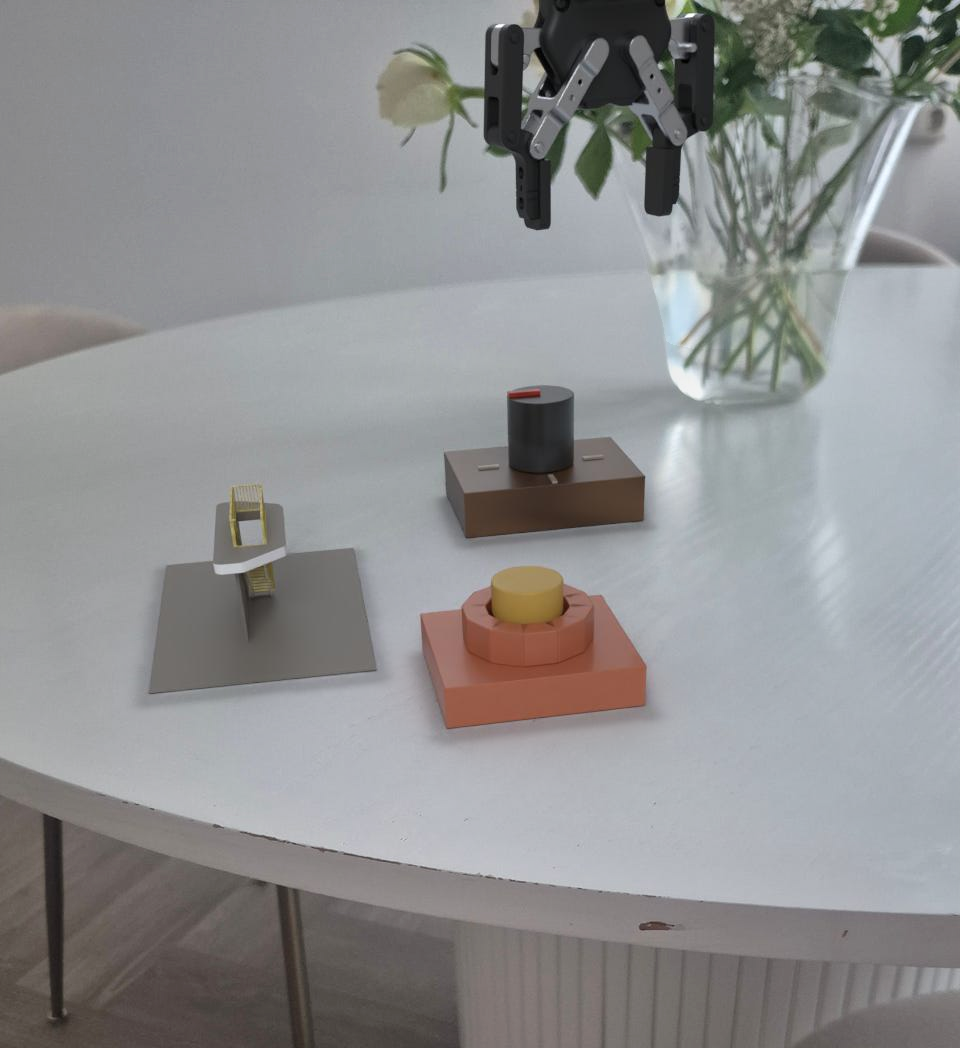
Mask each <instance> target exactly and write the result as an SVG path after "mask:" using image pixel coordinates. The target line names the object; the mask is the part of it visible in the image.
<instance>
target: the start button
mask: <svg viewBox="0 0 960 1048" xmlns="http://www.w3.org/2000/svg"><path fill="white" fill-rule="evenodd" d="M563 583H564V578H563V575H562V574H561V573H560V572H558V571H557V570H555V569H553V568H549V567H545V566H538V565H520V566H513V567H507V568H504V569H502V570H500V571H498V572H497V573H495V574H493V576H492V577H491V580H490V586H491V599H492V614H493V616H494V617H495V618H497V619H499V620H502V621H507V622H516V623H524V624H528V623H538V622H547V621H550V620H552V619H555V618H557V617H560V616H561V614H562V612H563Z"/></svg>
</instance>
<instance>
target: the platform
mask: <svg viewBox="0 0 960 1048" xmlns="http://www.w3.org/2000/svg"><path fill="white" fill-rule="evenodd" d="M257 486H258V488H257ZM244 487H245V488H244ZM254 487H255V490H254ZM238 488H239V489H238ZM241 488H242V490H241ZM251 488H252V492H251ZM238 490H239V491H238ZM235 491H236V493H235ZM248 491H249V493H248ZM258 491H259V494H258ZM245 492H246V493H245ZM242 494H243V497H242ZM245 494H246V496H245ZM255 494H256V497H255ZM258 495H259V496H258ZM239 496H240V499H239ZM252 496H253V499H252ZM236 497H237V500H236ZM249 498H250V499H249ZM246 500H247V501H246ZM256 501H257V502H256ZM214 519H215V523H214V537H213V539H214V540H213V553H212V560H207V561H206V560H205V561H197V562H196V561H195V562H184V563H175V564H174V563H173V564H166V566H165V573H164V578H163V587H162V594H161V602H160V609H159V616H158V623H157V631H156V636H155V645H154V652H153V658H152V659H153V660H152V666H151V672H150V673H151V674H150V681H149V688H148V694H156V693H167V692H177V691H184V690H185V691H186V690H193V689H194V690H197V689H205V688H215V687H225V686H233V685H243V684H252V683H253V684H255V683H265V682H273V681H282V680H291V679H293V680H294V679H301V678H311V677H320V676H321V677H322V676H329V675H331V676H332V675H338V674H339V675H341V674H349V673H350V674H351V673H360V672H369V671H377V670H378V669H377V664H376V659H375V654H374V649H373V643H372V639H371V634H370V633H371V632H370V628H369V623H368V617H367V612H366V607H365V602H364V596H363V592H362V591H363V590H362V585H361V582H360V576H359V572H358V571H359V570H358V565H357V560H356V554H355V550H354V547H346V548H336V549H323V550H313V551H301V552H293V553H292V552H291V553H288V551H287V537H286V522H285V521H286V520H285V512H284V507H283V506H282V505H281V504H280V503H274V502H265V499H264V493H263V484H262V483H251V484H241V485H230V487H229V501H227V502H220V503H217V504H216V506H215V518H214ZM258 520H259V521H260V525H261V531H262V539H263V543H255V544H253V543H252V544H243V542H242V541H243V540H242V534H241V529H240V522H248V521H249V522H250V521H258Z"/></svg>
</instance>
